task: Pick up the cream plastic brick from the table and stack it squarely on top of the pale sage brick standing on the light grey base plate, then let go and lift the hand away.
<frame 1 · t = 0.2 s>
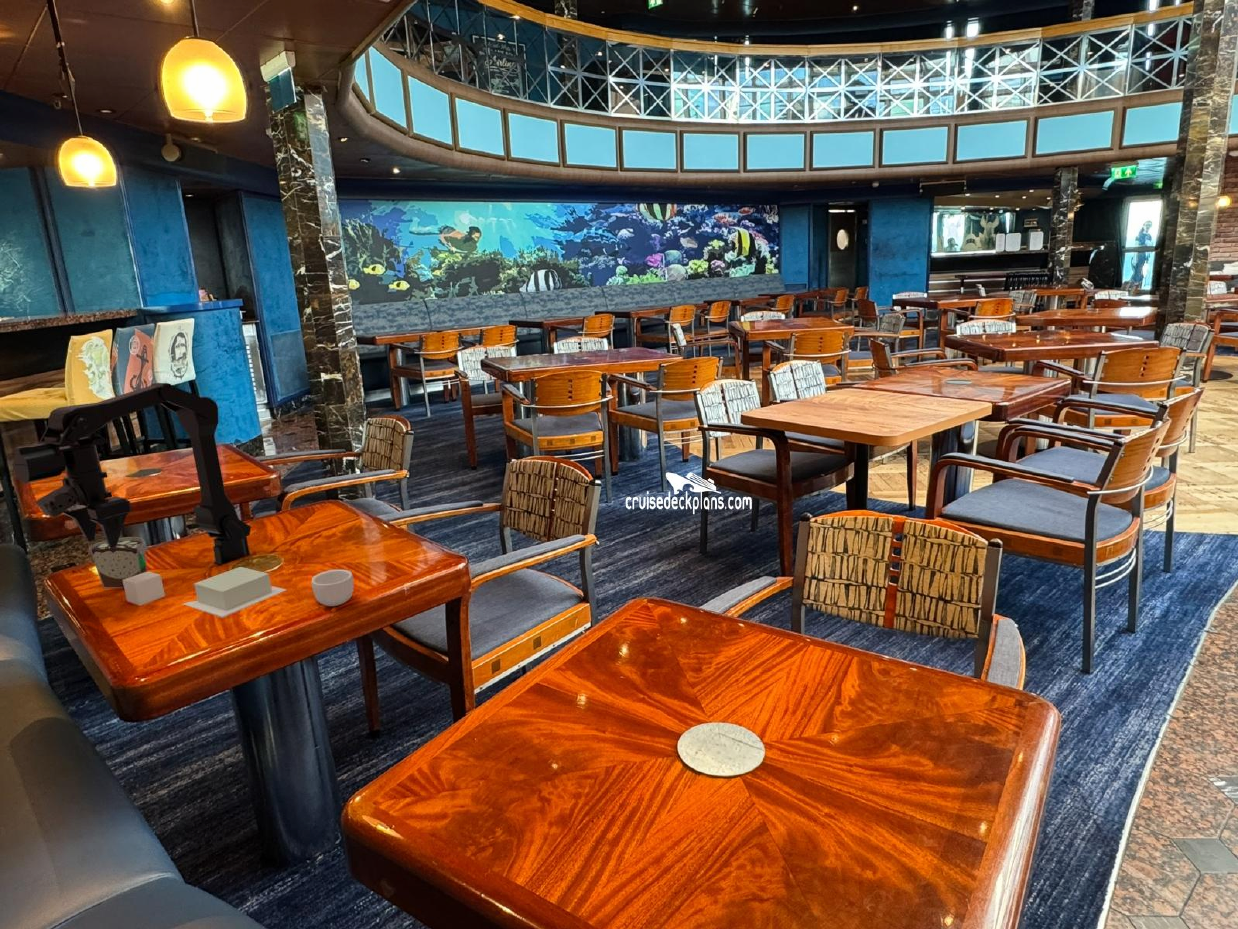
hand: (102, 544, 149), 14 cm above the table, tool pointing down, fingers open, 9 cm apart
cream brick: (147, 604, 153), on the table
base brick: (235, 596, 152), point 1 cm above the table, touching base plate
teacup: (332, 601, 150), on the table
food container: (133, 583, 166), on the table
base plate: (236, 601, 152), on the table
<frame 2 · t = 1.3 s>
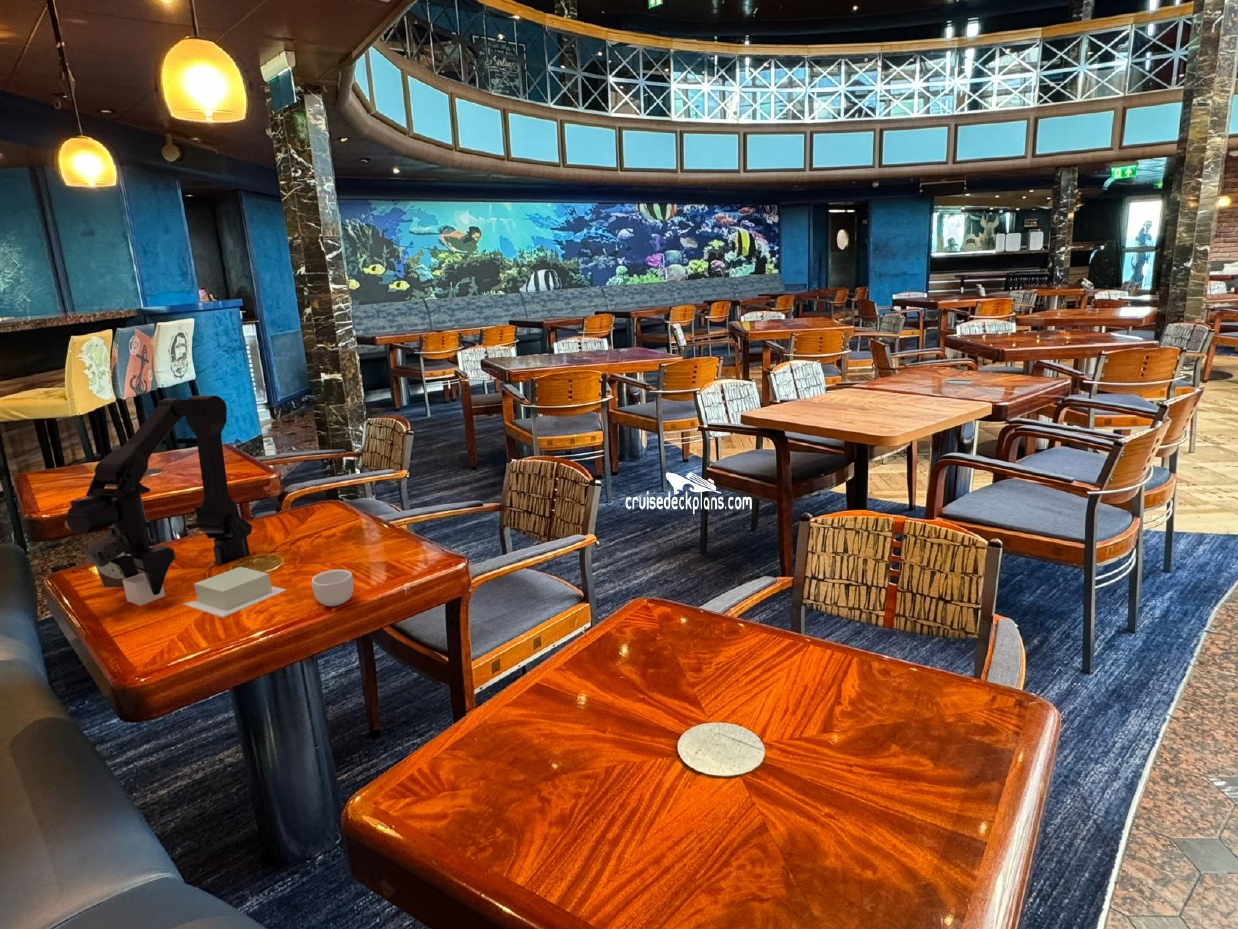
hand: (144, 590, 153), 3 cm above the table, tool pointing down, fingers open, 9 cm apart
nothing on the table moved.
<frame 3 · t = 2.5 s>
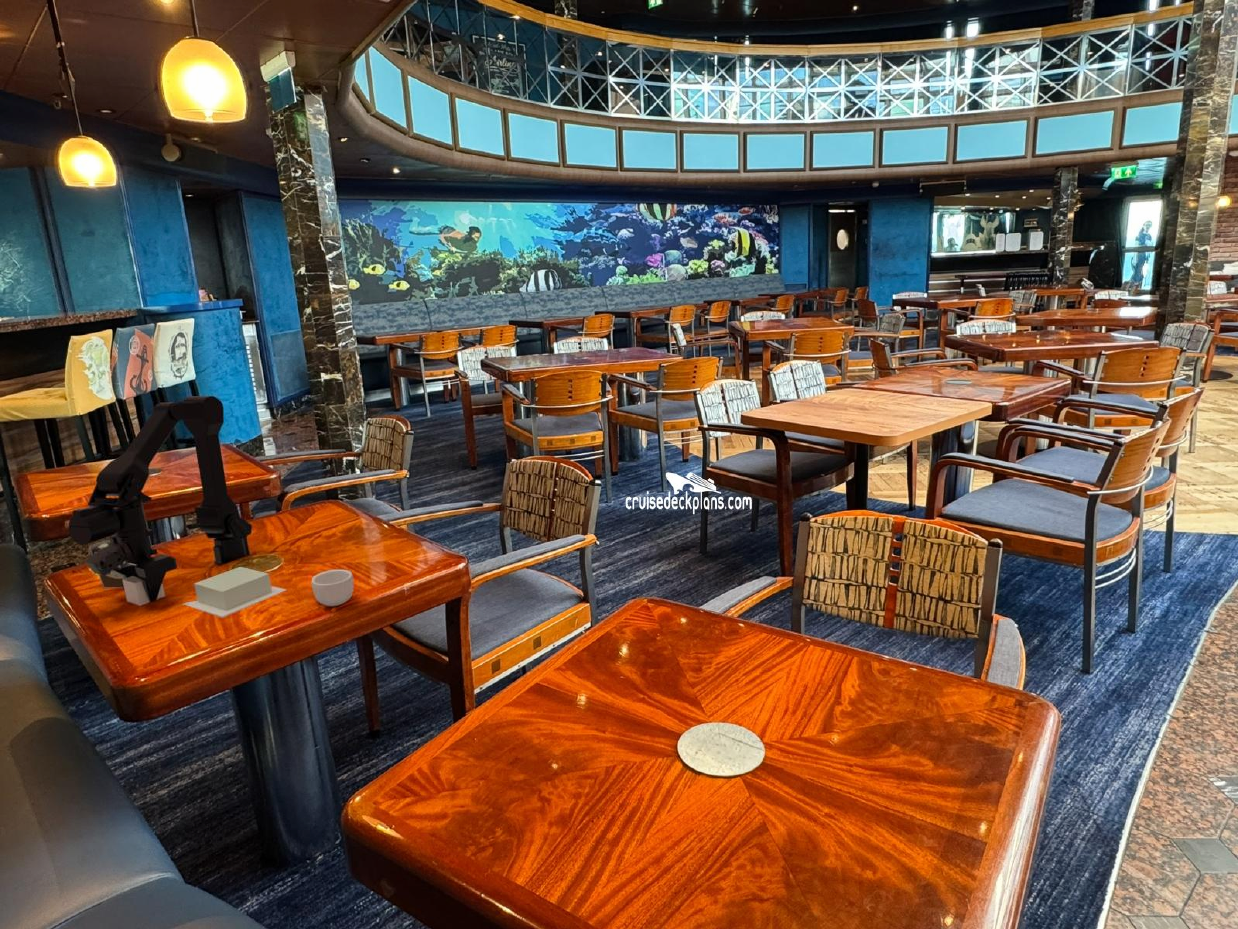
hand: (146, 599, 153), 1 cm above the table, tool pointing down, fingers closed on cream brick, 5 cm apart
cream brick: (147, 603, 153), on the table, touching gripper
everything else where it was.
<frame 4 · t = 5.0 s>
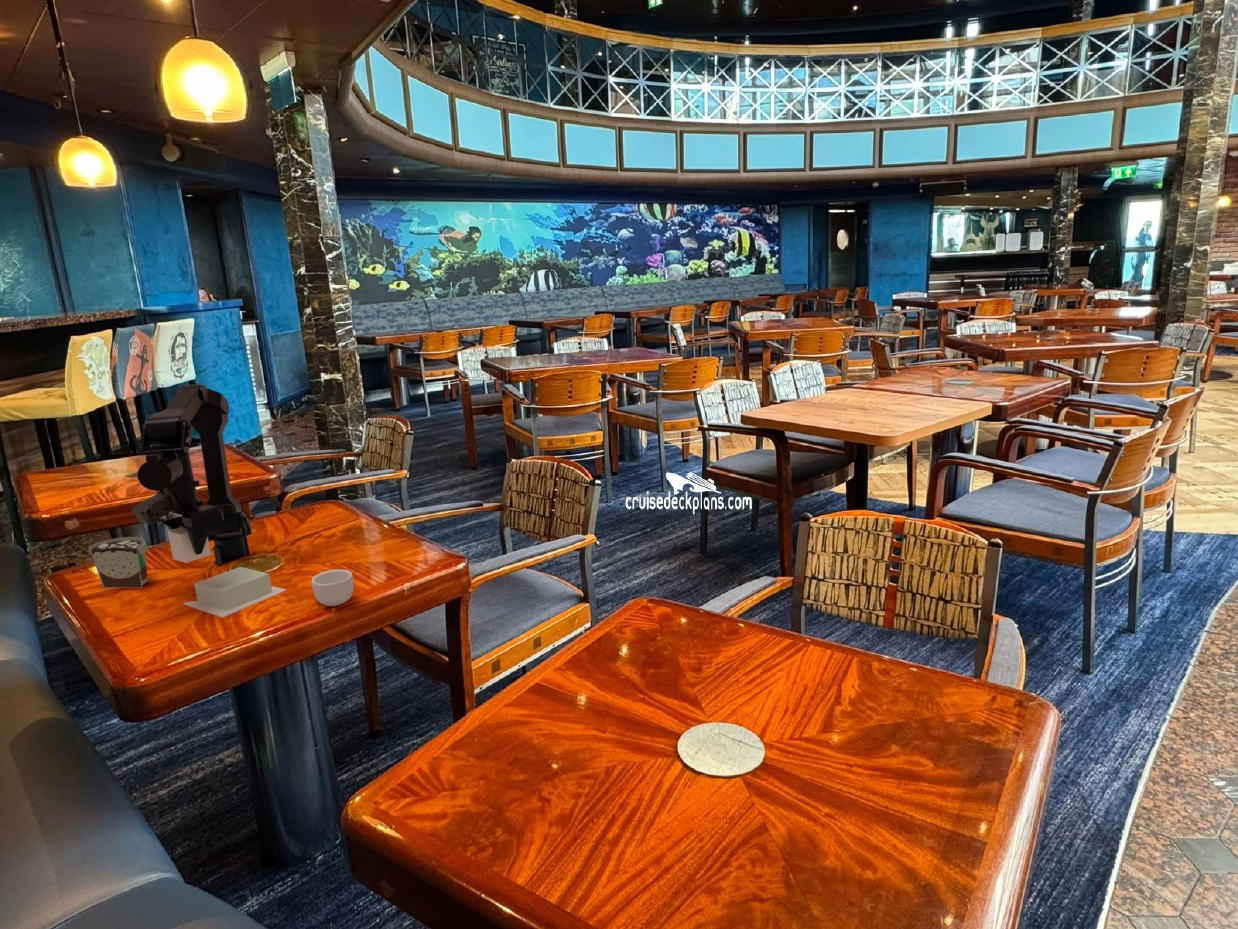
hand: (191, 552, 150), 11 cm above the table, tool pointing down, fingers closed on cream brick, 5 cm apart
cream brick: (192, 557, 150), point 10 cm above the table, touching gripper
everything else where it was.
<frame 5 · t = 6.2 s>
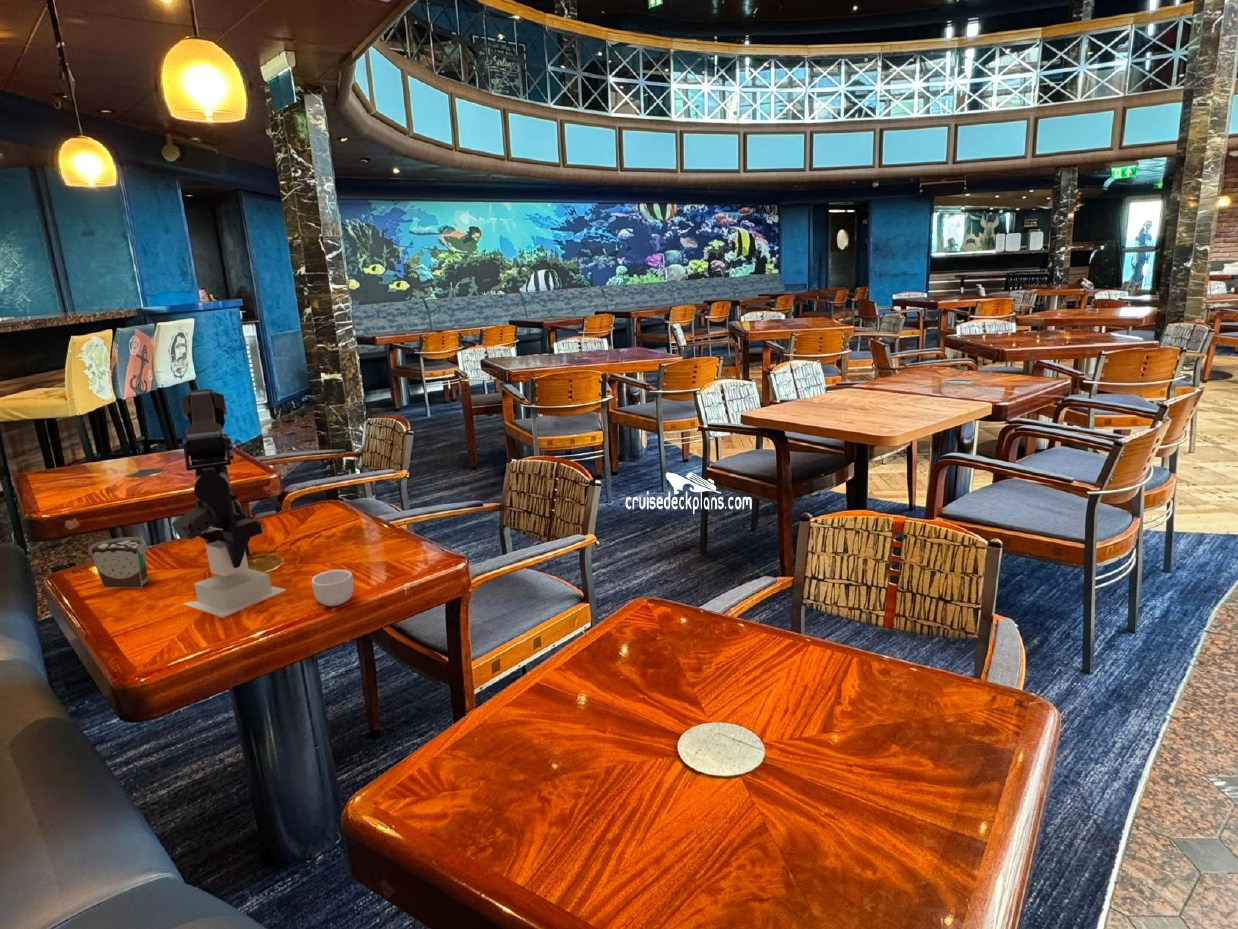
hand: (229, 565, 150), 8 cm above the table, tool pointing down, fingers closed on cream brick, 5 cm apart
cream brick: (229, 570, 151), point 7 cm above the table, touching gripper
everything else where it was.
when the fingers open (7 cm above the table, at t = 7.4 s): cream brick drops 1 cm, resting on base brick.
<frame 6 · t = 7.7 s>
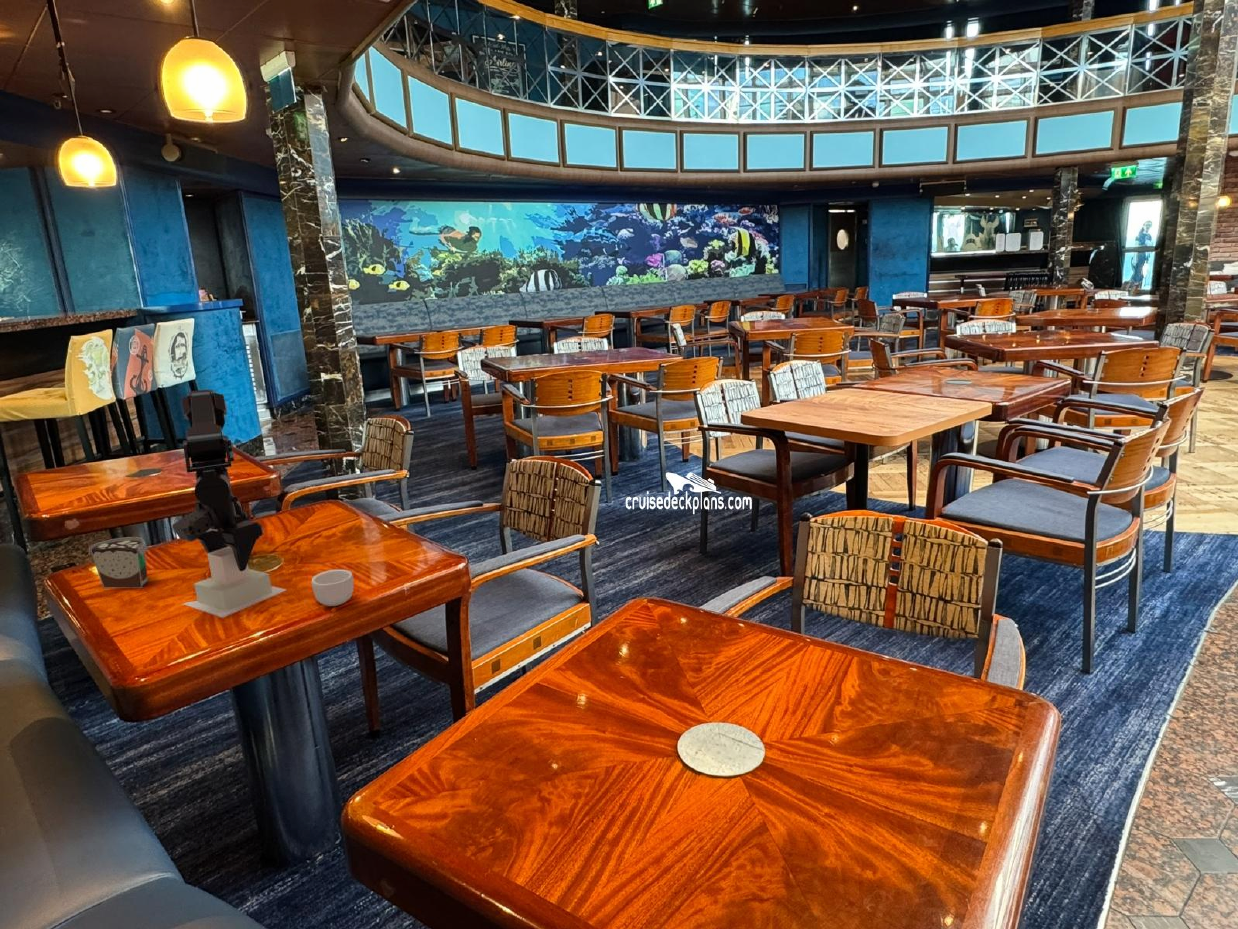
hand: (229, 567, 150), 7 cm above the table, tool pointing down, fingers open, 9 cm apart
cream brick: (231, 578, 151), point 5 cm above the table, touching base brick
base brick: (235, 596, 152), point 1 cm above the table, touching base plate, cream brick
everything else where it was.
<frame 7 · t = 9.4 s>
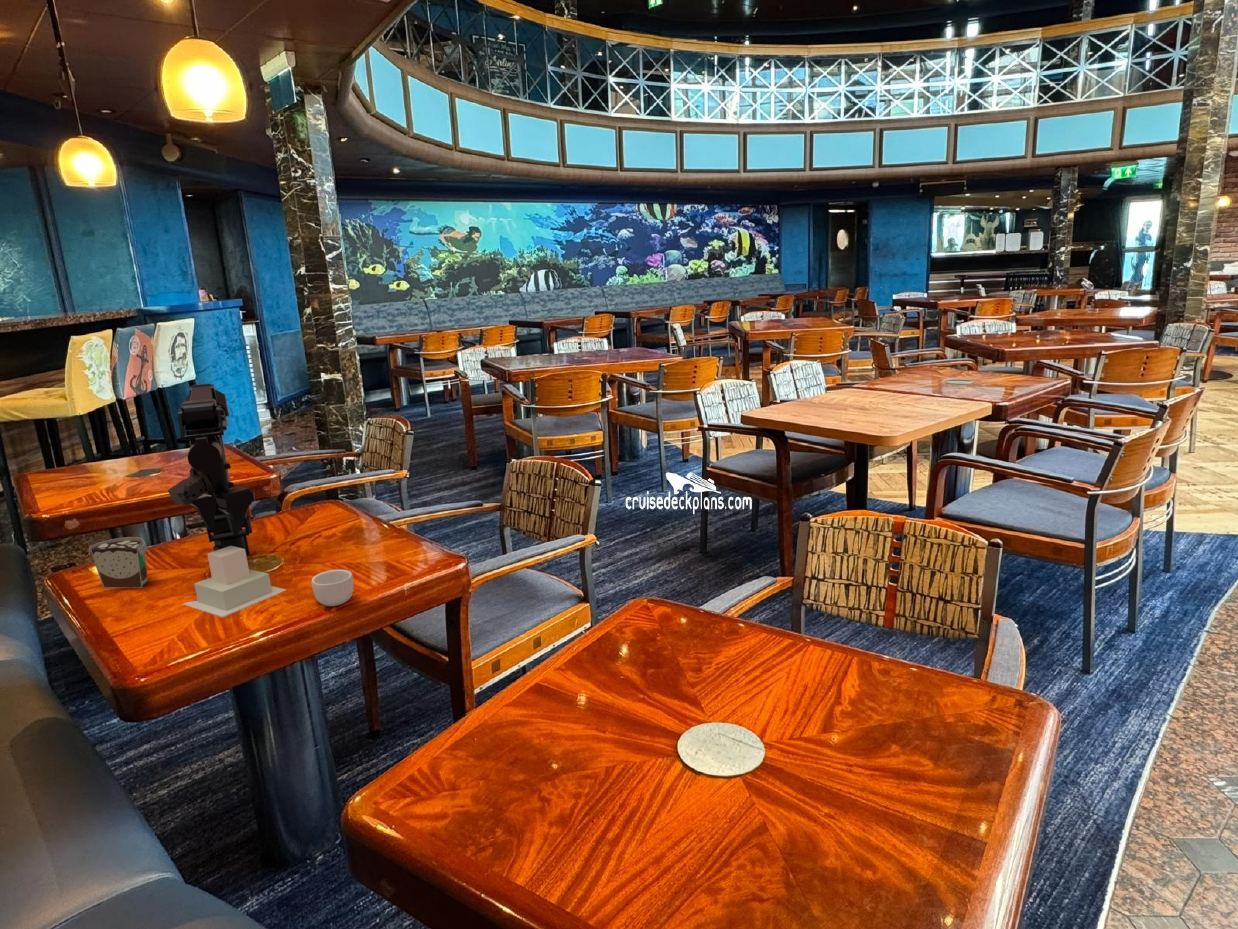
hand: (223, 531, 157), 13 cm above the table, tool pointing down, fingers open, 9 cm apart
nothing on the table moved.
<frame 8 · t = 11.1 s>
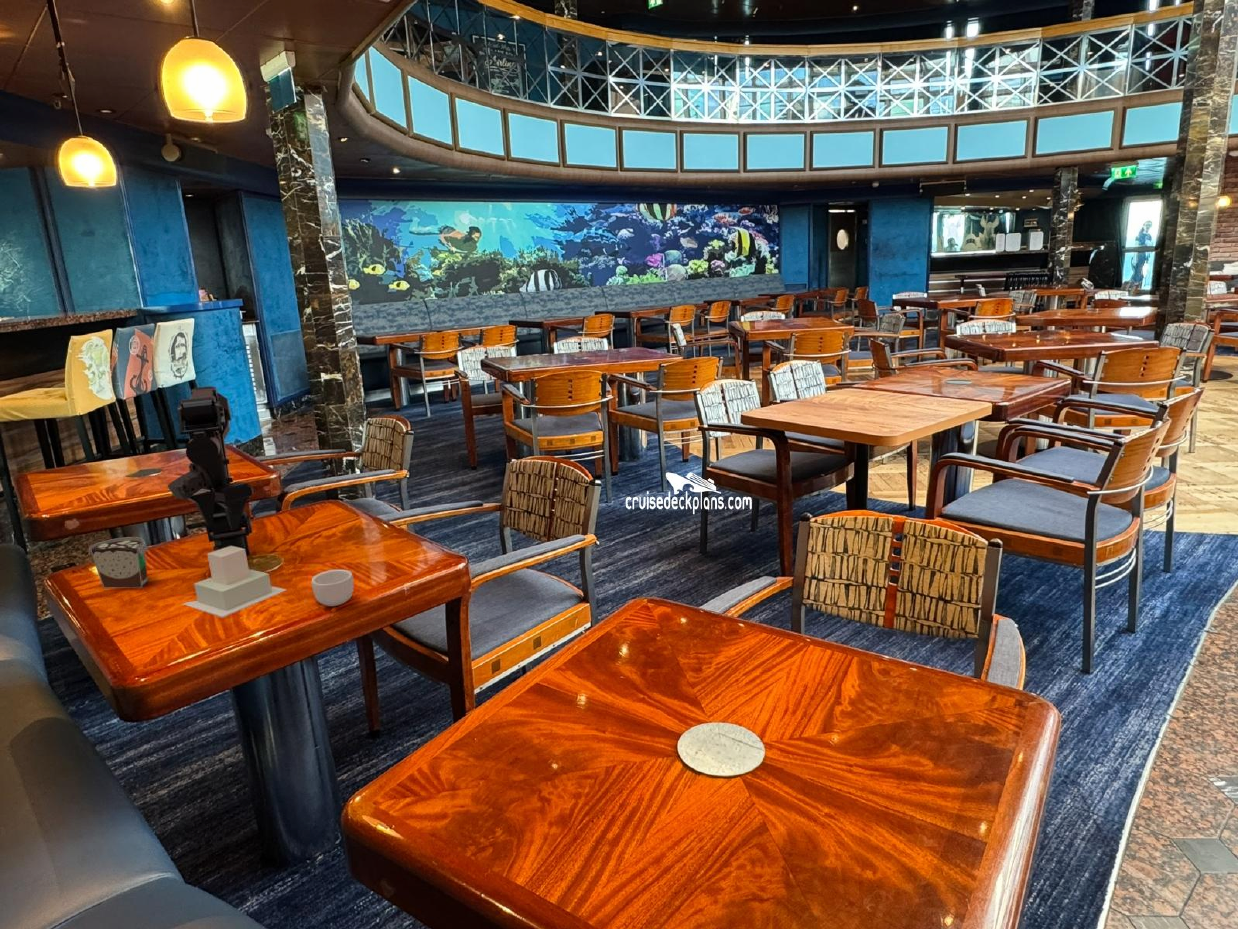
hand: (221, 526, 160), 13 cm above the table, tool pointing down, fingers open, 9 cm apart
nothing on the table moved.
at the end: cream brick 0.1 cm off-centre on the base brick, point 4.0 cm above the base brick's base; cream brick tilted 0°; the gripper is holding nothing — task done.
